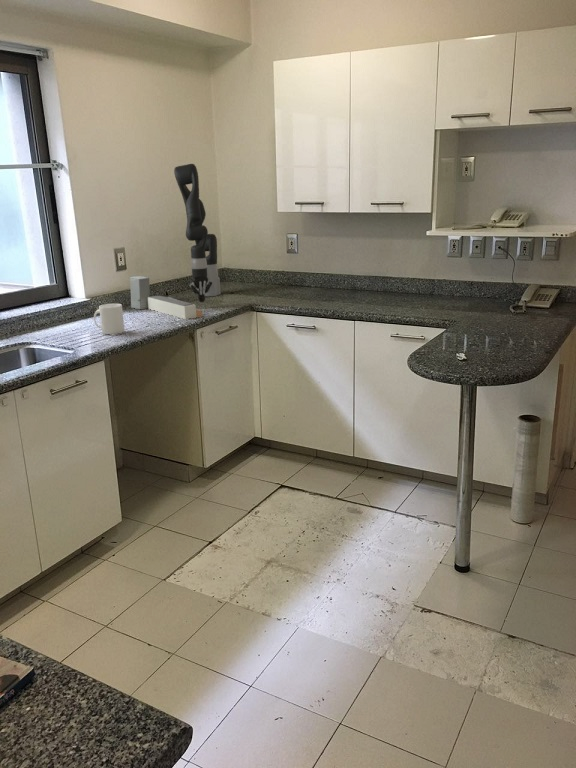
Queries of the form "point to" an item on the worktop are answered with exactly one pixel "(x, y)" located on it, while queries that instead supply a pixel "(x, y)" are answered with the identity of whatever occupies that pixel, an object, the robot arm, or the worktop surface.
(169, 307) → the long cream box
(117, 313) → the mug
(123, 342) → the worktop surface
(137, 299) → the skincare box
